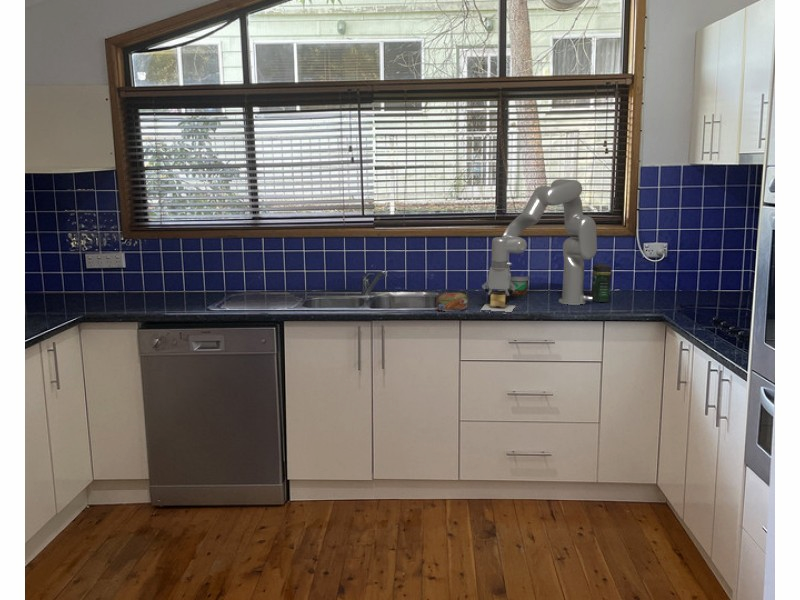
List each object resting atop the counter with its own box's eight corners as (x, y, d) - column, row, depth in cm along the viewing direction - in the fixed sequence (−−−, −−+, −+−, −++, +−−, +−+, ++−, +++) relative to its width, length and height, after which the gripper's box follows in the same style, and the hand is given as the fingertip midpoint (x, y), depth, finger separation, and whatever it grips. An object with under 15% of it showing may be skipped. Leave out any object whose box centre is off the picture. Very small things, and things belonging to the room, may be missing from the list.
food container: (503, 295, 350) (503, 276, 348) (504, 293, 355) (505, 274, 353) (527, 297, 346) (528, 277, 344) (529, 295, 352) (529, 275, 350)
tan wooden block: (506, 303, 319) (506, 292, 318) (504, 306, 312) (505, 295, 312) (492, 302, 320) (492, 292, 319) (490, 305, 314) (490, 294, 313)
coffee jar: (611, 303, 332) (613, 265, 329) (594, 303, 332) (597, 265, 329) (605, 299, 342) (607, 262, 338) (589, 299, 342) (591, 262, 338)
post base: (515, 307, 322) (515, 293, 320) (511, 313, 308) (512, 298, 307) (485, 305, 325) (485, 291, 324) (480, 311, 312) (481, 297, 311)
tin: (437, 312, 311) (437, 294, 310) (435, 310, 314) (435, 292, 313) (468, 310, 315) (469, 292, 314) (466, 309, 318) (466, 291, 317)
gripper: (519, 264, 314) (518, 302, 318) (482, 262, 319) (481, 300, 322) (518, 266, 307) (516, 306, 311) (479, 265, 312) (478, 303, 315)
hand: (498, 303), depth 316 cm, fingers closed on tan wooden block, 6 cm apart
